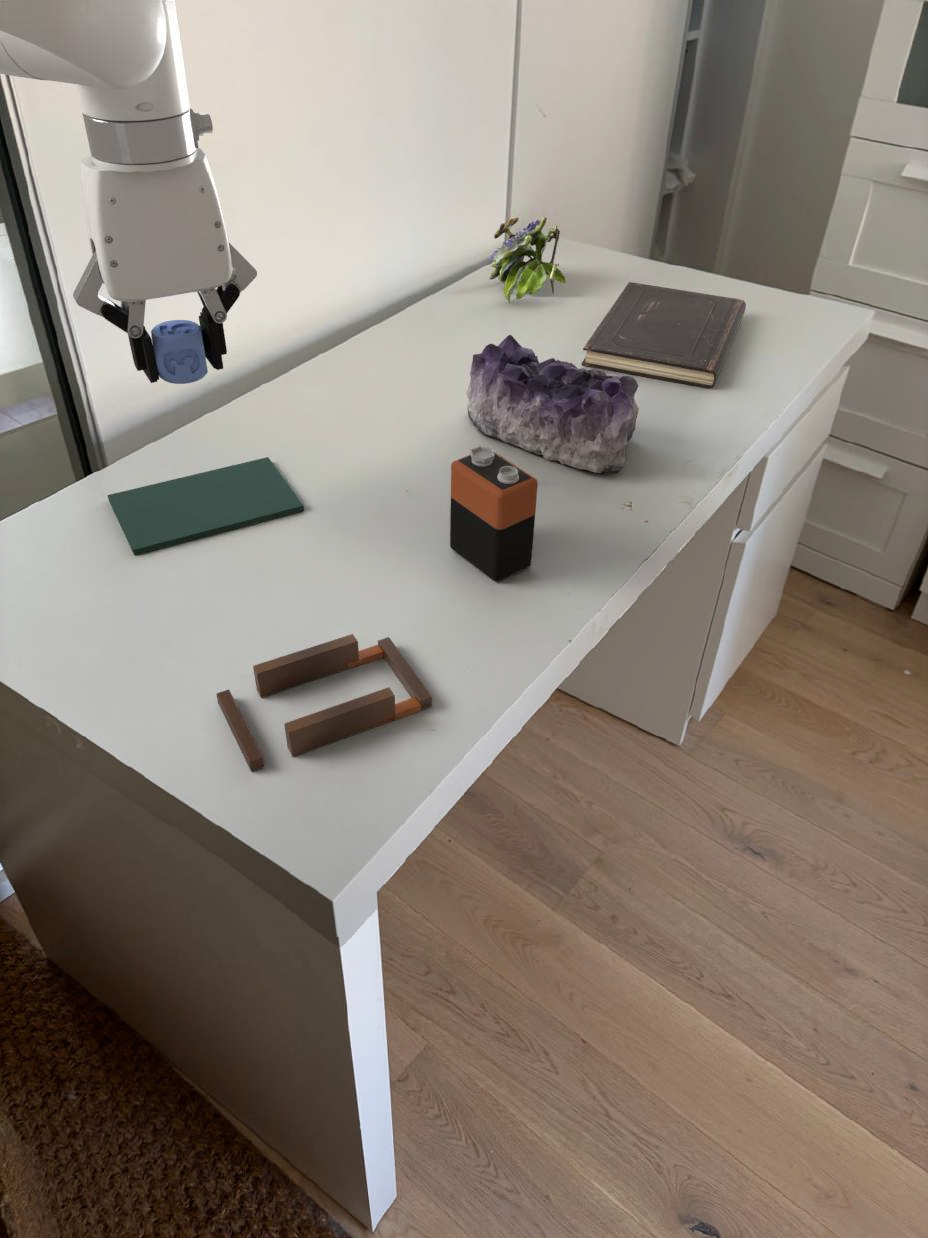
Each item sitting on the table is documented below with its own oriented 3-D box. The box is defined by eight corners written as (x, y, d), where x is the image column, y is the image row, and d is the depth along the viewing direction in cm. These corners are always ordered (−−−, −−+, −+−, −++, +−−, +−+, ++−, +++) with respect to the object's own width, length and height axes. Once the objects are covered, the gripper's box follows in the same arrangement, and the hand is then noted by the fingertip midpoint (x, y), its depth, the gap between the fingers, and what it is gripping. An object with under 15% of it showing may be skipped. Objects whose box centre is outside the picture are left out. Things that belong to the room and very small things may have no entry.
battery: (484, 532, 89) (488, 436, 83) (533, 567, 85) (541, 469, 79) (447, 548, 87) (448, 451, 81) (495, 585, 83) (501, 486, 77)
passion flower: (502, 319, 140) (508, 234, 140) (575, 317, 136) (581, 230, 136) (474, 297, 130) (480, 206, 129) (552, 294, 126) (559, 200, 125)
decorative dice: (159, 366, 84) (150, 321, 81) (206, 361, 84) (199, 317, 82) (160, 386, 81) (151, 340, 78) (209, 381, 82) (202, 336, 79)
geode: (435, 437, 103) (439, 344, 97) (489, 408, 111) (495, 320, 106) (610, 487, 94) (625, 387, 89) (654, 451, 103) (670, 358, 98)
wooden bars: (251, 772, 67) (246, 747, 65) (217, 702, 72) (212, 678, 70) (432, 706, 72) (432, 682, 70) (389, 646, 77) (388, 622, 75)
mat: (134, 555, 85) (132, 549, 85) (108, 500, 92) (107, 494, 92) (304, 510, 91) (303, 505, 91) (268, 461, 98) (268, 456, 98)
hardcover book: (581, 365, 117) (583, 347, 115) (626, 298, 133) (629, 281, 132) (713, 389, 113) (717, 371, 111) (743, 316, 129) (747, 300, 128)
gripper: (238, 115, 76) (263, 335, 88) (11, 137, 70) (71, 371, 82) (270, 137, 71) (292, 368, 83) (28, 163, 65) (90, 409, 77)
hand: (182, 367), depth 82 cm, fingers closed on decorative dice, 4 cm apart
